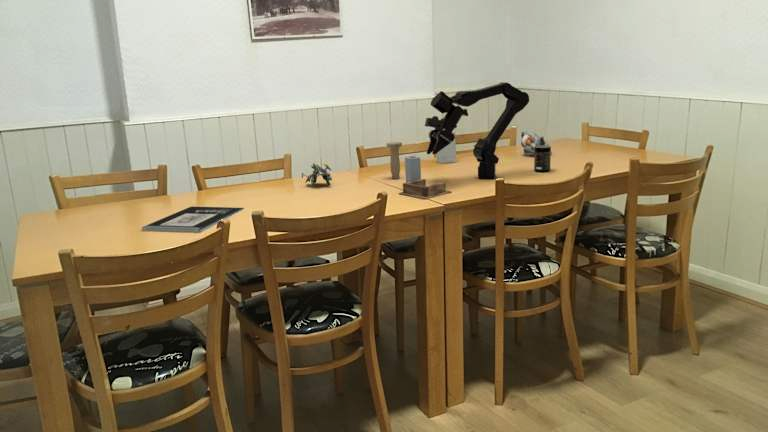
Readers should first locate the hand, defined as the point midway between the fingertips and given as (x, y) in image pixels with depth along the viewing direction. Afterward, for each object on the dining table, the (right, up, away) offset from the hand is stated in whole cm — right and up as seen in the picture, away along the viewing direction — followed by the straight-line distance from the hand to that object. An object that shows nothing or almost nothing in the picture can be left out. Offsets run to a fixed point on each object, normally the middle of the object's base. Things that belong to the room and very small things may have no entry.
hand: (430, 154), depth 249 cm
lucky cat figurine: (+55, +5, +57) cm, 79 cm away
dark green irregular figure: (-45, -12, +12) cm, 48 cm away
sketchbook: (-83, -26, -33) cm, 93 cm away
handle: (-13, -9, +19) cm, 25 cm away
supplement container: (+49, -5, +20) cm, 53 cm away
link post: (-7, -13, 0) cm, 15 cm away
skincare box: (+11, +1, +50) cm, 51 cm away
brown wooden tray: (-2, -16, -11) cm, 19 cm away
